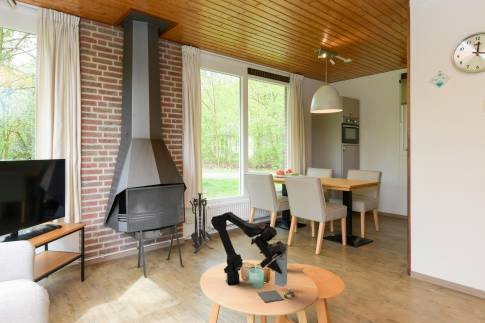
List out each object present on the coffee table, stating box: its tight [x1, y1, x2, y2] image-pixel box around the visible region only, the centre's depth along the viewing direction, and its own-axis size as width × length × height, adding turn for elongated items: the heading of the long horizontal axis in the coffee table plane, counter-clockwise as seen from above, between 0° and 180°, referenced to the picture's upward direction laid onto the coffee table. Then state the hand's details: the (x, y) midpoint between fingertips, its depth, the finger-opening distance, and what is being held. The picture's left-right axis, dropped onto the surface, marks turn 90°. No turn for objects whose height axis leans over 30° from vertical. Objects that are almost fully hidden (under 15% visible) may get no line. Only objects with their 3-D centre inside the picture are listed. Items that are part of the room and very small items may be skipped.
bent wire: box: [283, 287, 295, 299], centre depth 154 cm, size 6×5×3 cm
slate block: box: [274, 257, 288, 288], centre depth 152 cm, size 5×5×13 cm
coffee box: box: [271, 242, 288, 272], centre depth 189 cm, size 9×6×16 cm
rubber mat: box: [257, 289, 285, 303], centre depth 153 cm, size 10×10×1 cm
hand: (283, 271), depth 151 cm, fingers closed on slate block, 5 cm apart
